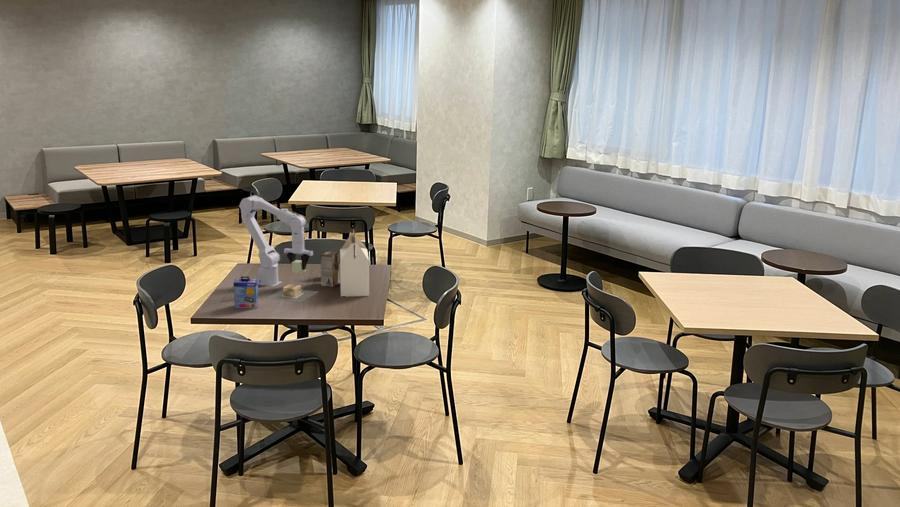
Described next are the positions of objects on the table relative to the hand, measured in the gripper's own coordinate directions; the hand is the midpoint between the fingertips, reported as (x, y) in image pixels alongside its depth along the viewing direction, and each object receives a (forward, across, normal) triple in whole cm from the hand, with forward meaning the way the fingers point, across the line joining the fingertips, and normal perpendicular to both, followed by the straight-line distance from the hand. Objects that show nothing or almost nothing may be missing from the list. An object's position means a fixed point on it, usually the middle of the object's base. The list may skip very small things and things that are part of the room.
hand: (298, 268), depth 358 cm
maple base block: (+9, -4, +14) cm, 17 cm away
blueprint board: (+9, -4, +14) cm, 17 cm away
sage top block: (+2, 0, 0) cm, 2 cm away
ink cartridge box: (+10, +7, +35) cm, 37 cm away
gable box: (+10, -26, -6) cm, 29 cm away
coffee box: (+9, -12, -9) cm, 18 cm away
